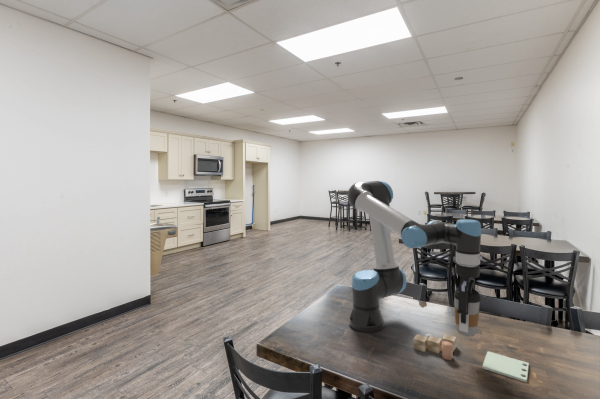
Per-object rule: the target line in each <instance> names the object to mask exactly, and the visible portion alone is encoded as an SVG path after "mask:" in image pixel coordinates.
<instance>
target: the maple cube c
mask: <svg viewBox="0 0 600 399" xmlns="http://www.w3.org/2000/svg"><path fill="white" fill-rule="evenodd" d="M441 339H442V342H443V341H448V342H450V343H452V344H453V352H455V350H456V348H457V337H456V336H454V335H452V334H451V335H450V334H446V333H444V335H443V336H442V338H441Z"/></svg>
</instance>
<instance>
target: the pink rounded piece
mask: <svg viewBox="0 0 600 399" xmlns="http://www.w3.org/2000/svg"><path fill="white" fill-rule="evenodd" d="M453 355H454V354H453V344H452V343H450V342H448V341H443V342H442V349H441V358H442V359H444V360H446V361H452V360H453V359H454V356H453Z"/></svg>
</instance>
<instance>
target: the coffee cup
mask: <svg viewBox="0 0 600 399" xmlns="http://www.w3.org/2000/svg"><path fill="white" fill-rule="evenodd" d="M468 292H469V291H468ZM453 298H454V319H455V329H456V332H457V333H458V334H459V335H462V336H464V337H470V338H471V337H475V336H476V334H477V333H478V324H479V315H480V305H481V304H480V302H481V301H482V300H481V296H480V292H479V291H477V290H476V289H475V290H473V291H472V293H471V295H469V301H468V303H469V304H468V314H469V324H468V333H467V332H463V331H460V330H459V313H457V311H458V305H459V287H457V288H456V289H455V291H454V293H453Z"/></svg>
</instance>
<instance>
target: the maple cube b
mask: <svg viewBox="0 0 600 399" xmlns="http://www.w3.org/2000/svg"><path fill="white" fill-rule="evenodd" d="M427 345H428V348H427V351H430V352H431V353H436V354H440V353H441V352H442V338H441V337H436V336H430V337H429V339H428V340H427Z"/></svg>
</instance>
